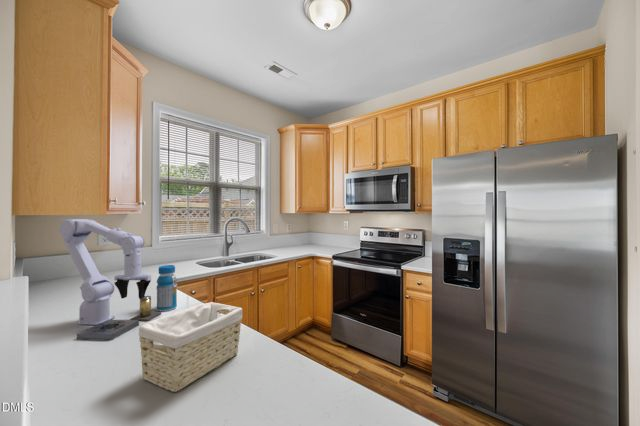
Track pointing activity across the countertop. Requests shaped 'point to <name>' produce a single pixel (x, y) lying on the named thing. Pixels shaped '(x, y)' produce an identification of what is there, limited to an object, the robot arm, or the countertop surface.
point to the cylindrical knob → (145, 307)
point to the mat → (153, 315)
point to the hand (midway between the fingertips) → (132, 297)
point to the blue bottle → (166, 288)
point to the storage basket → (188, 344)
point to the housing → (107, 330)
